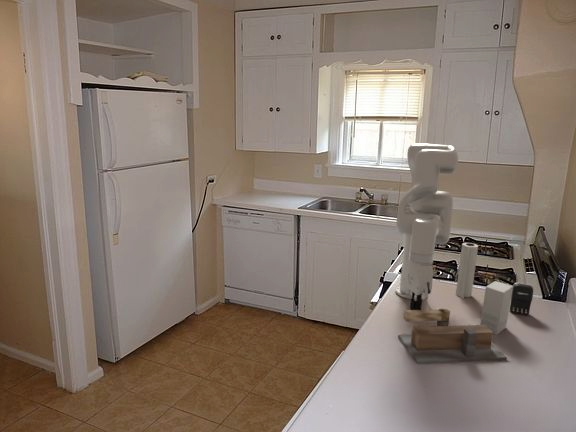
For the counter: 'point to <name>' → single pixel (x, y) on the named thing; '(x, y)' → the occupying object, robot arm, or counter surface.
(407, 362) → the counter surface
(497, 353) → the wooden gate latch
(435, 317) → the bar
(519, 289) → the battery charger
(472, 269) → the paper towel roll
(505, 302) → the skincare box
